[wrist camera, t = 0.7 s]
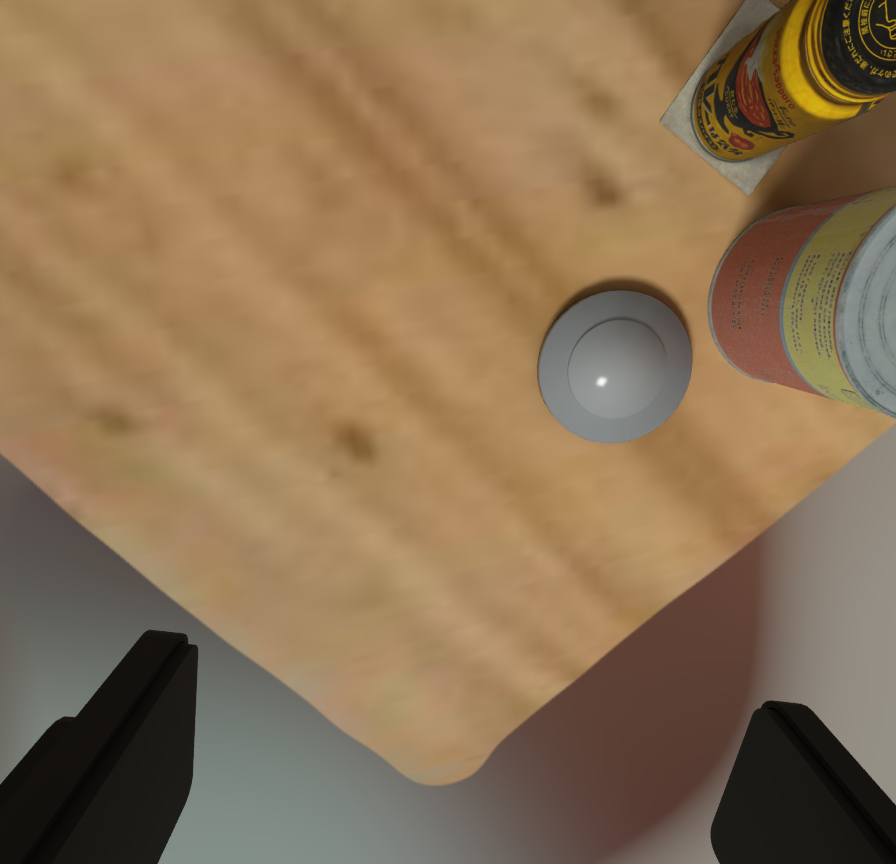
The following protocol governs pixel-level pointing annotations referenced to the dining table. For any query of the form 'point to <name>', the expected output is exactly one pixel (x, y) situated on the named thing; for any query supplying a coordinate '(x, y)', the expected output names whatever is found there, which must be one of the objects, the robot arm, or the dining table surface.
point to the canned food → (814, 300)
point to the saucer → (614, 366)
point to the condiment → (784, 80)
